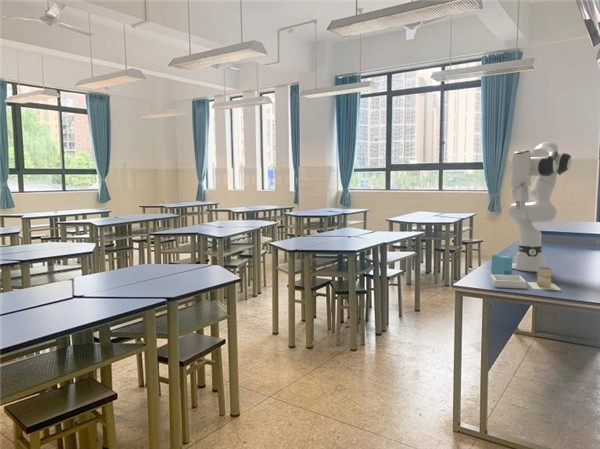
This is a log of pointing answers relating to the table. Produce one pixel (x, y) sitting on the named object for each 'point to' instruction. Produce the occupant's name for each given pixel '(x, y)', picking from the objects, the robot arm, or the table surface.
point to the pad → (553, 287)
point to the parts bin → (507, 281)
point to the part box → (543, 276)
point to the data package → (501, 265)
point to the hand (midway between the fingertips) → (520, 209)
